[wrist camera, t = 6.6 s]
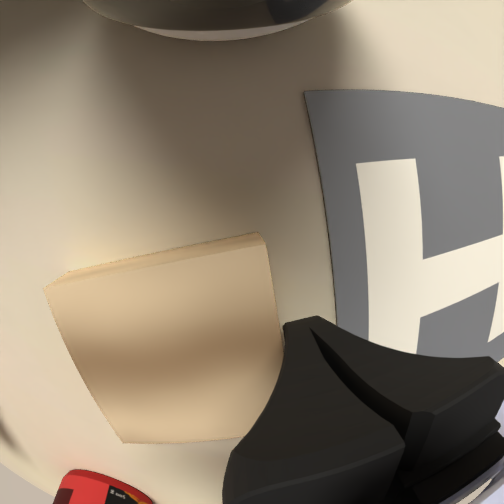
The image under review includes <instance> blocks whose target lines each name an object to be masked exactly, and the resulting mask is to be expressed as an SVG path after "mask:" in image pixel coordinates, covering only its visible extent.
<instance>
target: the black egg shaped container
mask: <svg viewBox="0 0 504 504" xmlns="http://www.w3.org/2000/svg"><path fill="white" fill-rule="evenodd" d="M82 1H83V2H84V3H85V4H86V5H87V6H88V7H89V8H91V9H92V10H93V11H95V12H97V13H98V14H100V15H102V16H104V17H107V18H109V19H112V20H115V21H118V22H121V23H125V24H129V25H133V26H135V27H138V28H140V29H143V30H146V31H149V32H152V33H156V34H159V35H163V36H168V37H173V38H180V39H187V40H199V41H227V40H239V39H246V38H253V37H258V36H263V35H268V34H271V33H276V32H279V31H282V30H285V29H288V28H291V27H294V26H296V25H299V24H301V23H304V22H306V21H308V20H310V19H312V18H315V17H318V16H321V15H324V14H327V13H330V12H332V11H335V10H337V9H339V8H341V7H343V6H345V5H347V4H348V3H350V2H351V1H353V0H82Z"/></svg>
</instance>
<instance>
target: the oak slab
mask: <svg viewBox="0 0 504 504" xmlns="http://www.w3.org/2000/svg"><path fill="white" fill-rule="evenodd" d="M43 290H44V293H45V295H46V298H47V301H48V304H49V306H50V309H51V312H52V314H53V317H54V319H55V322H56V324H57V327H58V329H59V331H60V334H61V336H62V338H63V340H64V343H65V345H66V347H67V349H68V351H69V353H70V355H71V358H72V360H73V362H74V364H75V366H76V367H77V369H78V371H79V373H80V375H81V377H82V379H83V381H84V383H85V384H86V386H87V388H88V390H89V391H90V393H91V395H92V397H93V398H94V400H95V402H96V403H97V405H98V407H99V408H100V410H101V411H102V413H103V415H104V416H105V418H106V419H107V421H108V422H109V424H110V425H111V427H112V428H113V430H114V431H115V433H116V434H117V435H118V437H119V438H120V440H121V441H122V442H123V443H137V444H163V443H187V442H201V441H212V440H221V439H229V438H237V437H244V436H245V435H246V434H247V433H248V432H249V431H250V429H251V428H252V427H253V425H254V423H255V422H256V420H257V419H258V417H259V416H260V414H261V413H262V411H263V410H264V408H265V406H266V404H267V402H268V400H269V398H270V396H271V394H272V392H273V390H274V387H275V385H276V382H277V379H278V376H279V373H280V370H281V366H282V361H283V357H284V351H283V345H282V339H281V332H280V326H279V320H278V314H277V307H276V301H275V295H274V289H273V283H272V277H271V271H270V265H269V259H268V253H267V247H266V243H265V242H264V240H263V239H262V237H261V236H260V234H259V233H258V232H256V233H251V234H246V235H241V236H236V237H230V238H225V239H220V240H215V241H210V242H205V243H200V244H195V245H190V246H185V247H181V248H176V249H171V250H166V251H161V252H156V253H152V254H147V255H142V256H137V257H133V258H128V259H123V260H119V261H114V262H110V263H105V264H100V265H96V266H91V267H87V268H82V269H78V270H74V271H69V272H67V273H66V274H64V275H63V276H61V277H60V278H58V279H57V280H55V281H54V282H52V283H51V284H49V285H48V286H46V287H45V288H43Z"/></svg>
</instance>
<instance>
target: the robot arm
mask: <svg viewBox="0 0 504 504" xmlns="http://www.w3.org/2000/svg"><path fill="white" fill-rule="evenodd" d="M283 331H284V337H285V350H284V357H283V361H282V366H281V370H280V373H279V376H278V379H277V382H276V385H275V387H274V390H273V392H272V394H271V396H270V398H269V400H268V402H267V404H266V406H265V408H264V410H263V411H262V413H261V414H260V416H259V417H258V419H257V420H256V422H255V423H254V425H253V427H252V428H251V429H250V431H249V432H248V433H247V434H246V435H245V437H244V438H243V439H242V440H241V441H240V442H239V444H238V445H237V446H236V447H235V448H234V449H233V450H232V452H231V454H230V458H229V461H228V464H227V468H226V472H225V476H224V482H223V490H222V500H223V504H456V503H458V502H459V501H461V500H462V499H464V498H465V497H467V496H468V495H469V494H471V493H472V492H474V491H475V490H476V489H478V488H479V487H480V486H482V485H483V484H484V483H485V482H487V481H488V480H489V479H492V481H491V482H490V483H489V485H488V486H487V487H486V488H485V489H484V490H483V491H482V492H481V494H480V495H479V496H477V497H476V498H475V499H474V500H473V501H471V502H470V503H468V504H504V367H502V366H501V365H500V364H499V363H497V362H496V361H495V360H494V359H492V358H491V357H490V356H483V357H467V358H448V357H433V356H425V355H419V354H413V353H407V352H403V351H399V350H395V349H392V348H388V347H385V346H381V345H379V344H376V343H373V342H371V341H368V340H366V339H363V338H361V337H359V336H356V335H354V334H352V333H350V332H348V331H346V330H344V329H342V328H340V327H338V326H336V325H334V324H333V323H331V322H329V321H327V320H325V319H323V318H321V317H320V316H313V317H308V318H304V319H300V320H296V321H291V322H287V323H285V324H284V325H283Z"/></svg>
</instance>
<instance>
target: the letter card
mask: <svg viewBox="0 0 504 504" xmlns="http://www.w3.org/2000/svg"><path fill="white" fill-rule="evenodd" d="M304 96H305V100H306V105H307V109H308V114H309V119H310V123H311V128H312V133H313V138H314V143H315V149H316V154H317V160H318V165H319V171H320V177H321V183H322V190H323V196H324V203H325V210H326V217H327V225H328V232H329V241H330V249H331V258H332V268H333V279H334V290H335V303H336V317H337V326H338V327H340V328H342V329H344V330H346V331H348V332H350V333H352V334H354V335H356V336H359V337H361V338H363V339H366V340H368V341H371V342H373V343H376V344H379V345H381V346H385V347H388V348H392V349H395V350H399V351H403V352H407V353H413V354H419V355H425V356H433V357H448V358H467V357H483V356H490V357H491V358H492V359H494V360H495V361H496V362H498V361H500V360H501V359H502V358H504V108H501V107H497V106H493V105H489V104H484V103H480V102H475V101H470V100H464V99H459V98H453V97H446V96H439V95H432V94H423V93H413V92H401V91H385V90H318V91H304Z"/></svg>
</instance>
